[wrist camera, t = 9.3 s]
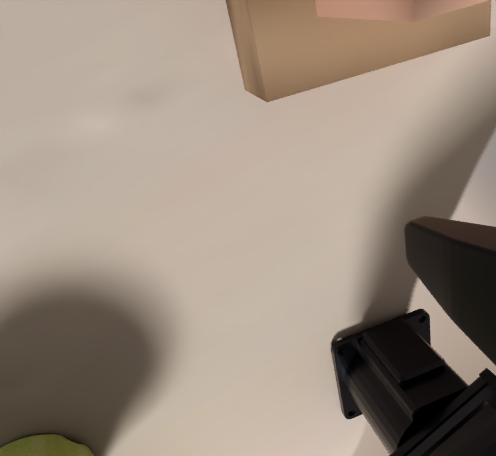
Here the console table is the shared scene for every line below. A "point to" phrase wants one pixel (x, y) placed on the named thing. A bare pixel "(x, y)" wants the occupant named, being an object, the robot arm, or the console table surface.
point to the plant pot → (45, 447)
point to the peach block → (389, 9)
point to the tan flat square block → (334, 43)
